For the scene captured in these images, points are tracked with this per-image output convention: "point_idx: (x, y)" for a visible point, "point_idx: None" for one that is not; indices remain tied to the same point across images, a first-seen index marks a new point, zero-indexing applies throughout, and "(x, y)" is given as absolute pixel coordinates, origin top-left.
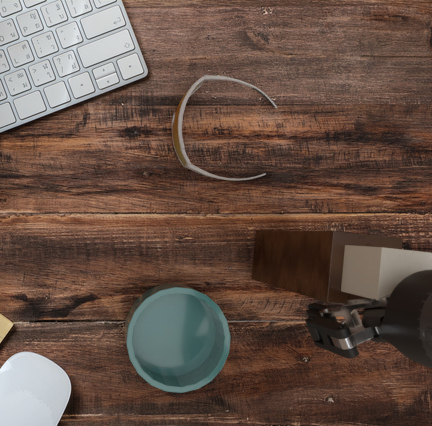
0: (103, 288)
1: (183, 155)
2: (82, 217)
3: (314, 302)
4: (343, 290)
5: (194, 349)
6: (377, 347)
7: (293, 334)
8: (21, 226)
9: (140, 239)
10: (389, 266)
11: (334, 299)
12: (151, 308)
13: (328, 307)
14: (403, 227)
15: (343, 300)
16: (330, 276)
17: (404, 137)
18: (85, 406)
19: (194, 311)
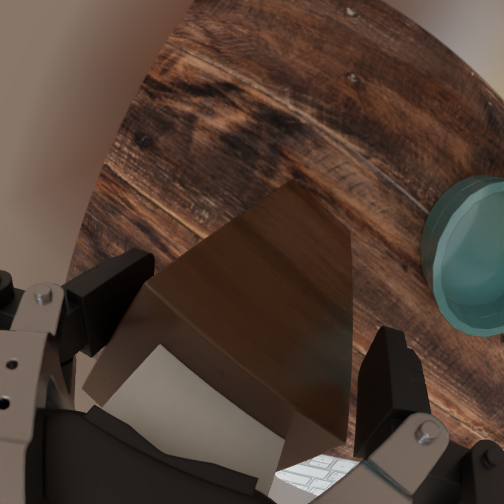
0: (490, 339)
1: None
2: (442, 403)
3: (358, 378)
4: (278, 452)
5: (480, 208)
6: (243, 35)
7: (347, 119)
8: (479, 419)
9: (422, 359)
10: None
11: (320, 438)
12: (479, 292)
13: (357, 455)
14: (129, 162)
15: (298, 424)
16: (283, 466)
17: (93, 250)
18: None
19: (446, 252)
